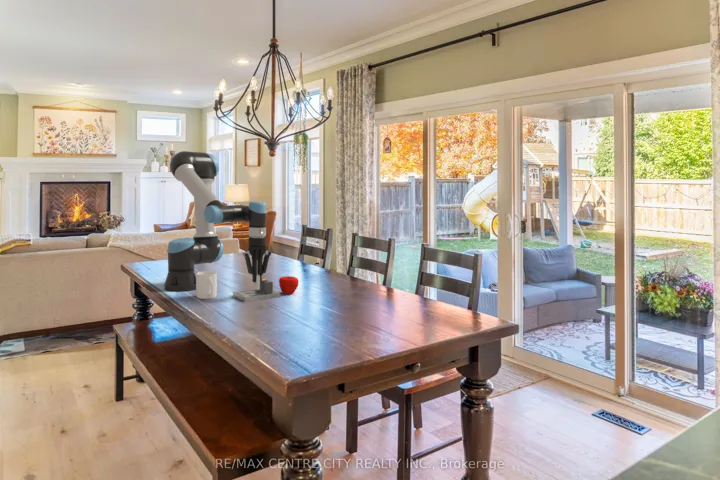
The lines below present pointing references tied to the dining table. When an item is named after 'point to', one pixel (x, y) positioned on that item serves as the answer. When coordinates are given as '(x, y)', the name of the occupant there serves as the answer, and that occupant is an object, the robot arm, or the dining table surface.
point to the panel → (254, 295)
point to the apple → (288, 284)
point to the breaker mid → (262, 284)
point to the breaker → (268, 287)
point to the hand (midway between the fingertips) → (256, 289)
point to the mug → (206, 285)
